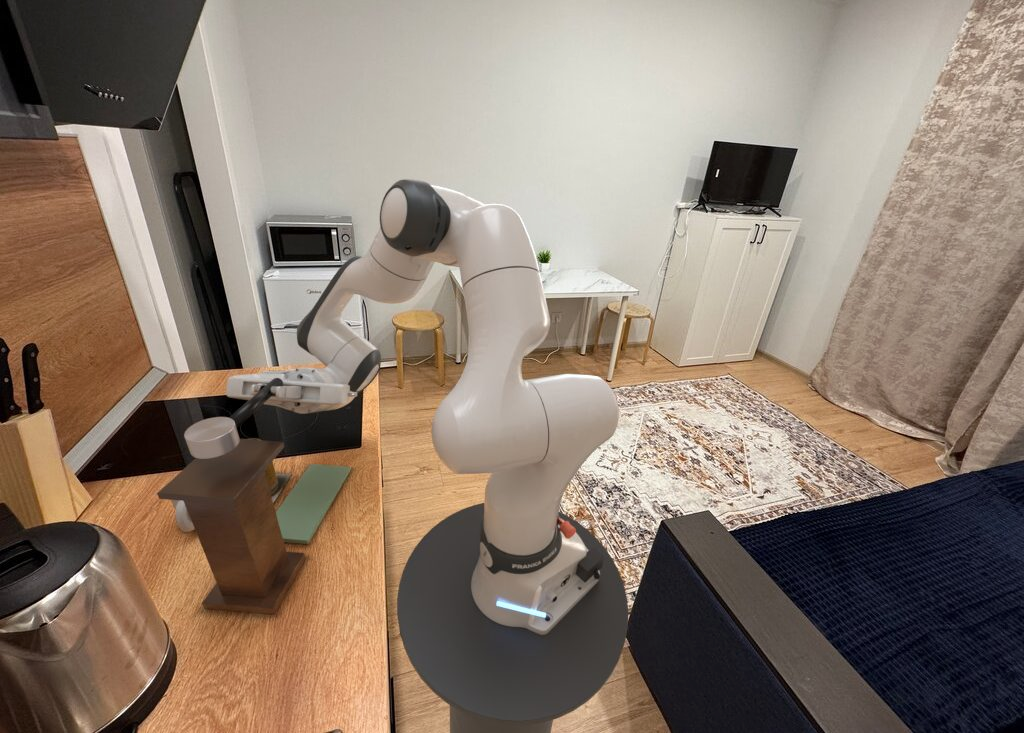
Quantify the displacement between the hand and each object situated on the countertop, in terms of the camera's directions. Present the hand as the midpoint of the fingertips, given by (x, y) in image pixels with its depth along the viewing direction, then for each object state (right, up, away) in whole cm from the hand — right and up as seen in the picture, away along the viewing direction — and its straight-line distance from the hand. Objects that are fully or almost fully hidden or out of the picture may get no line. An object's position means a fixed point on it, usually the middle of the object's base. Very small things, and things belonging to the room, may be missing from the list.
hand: (264, 391), depth 67 cm
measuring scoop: (0, -4, -4) cm, 5 cm away
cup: (-19, -26, +12) cm, 34 cm away
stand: (-2, -31, +3) cm, 32 cm away
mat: (-2, -24, +18) cm, 30 cm away
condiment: (-12, -22, +21) cm, 32 cm away
